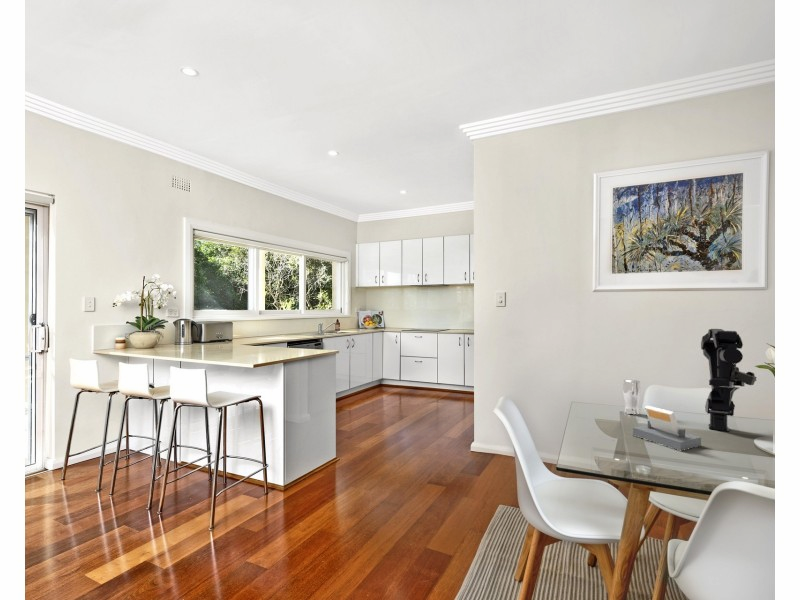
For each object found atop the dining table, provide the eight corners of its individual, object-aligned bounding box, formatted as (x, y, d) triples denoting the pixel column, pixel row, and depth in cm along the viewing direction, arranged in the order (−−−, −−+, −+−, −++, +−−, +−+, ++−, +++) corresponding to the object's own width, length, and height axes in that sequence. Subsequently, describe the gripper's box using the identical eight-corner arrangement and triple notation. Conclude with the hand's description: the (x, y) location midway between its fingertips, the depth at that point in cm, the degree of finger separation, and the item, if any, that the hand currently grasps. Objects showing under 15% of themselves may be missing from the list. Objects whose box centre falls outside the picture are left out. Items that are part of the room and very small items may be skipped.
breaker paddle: (654, 424, 166) (647, 405, 164) (680, 432, 157) (673, 411, 155) (651, 427, 165) (644, 408, 163) (677, 435, 156) (670, 414, 154)
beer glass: (619, 412, 199) (619, 380, 199) (630, 410, 202) (630, 379, 202) (632, 416, 193) (632, 383, 193) (643, 414, 195) (643, 381, 195)
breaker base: (653, 431, 172) (653, 416, 172) (700, 446, 155) (701, 429, 155) (632, 435, 166) (633, 420, 166) (680, 451, 150) (680, 434, 150)
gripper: (745, 364, 151) (746, 409, 149) (760, 365, 162) (762, 407, 161) (708, 362, 160) (709, 405, 158) (725, 363, 171) (726, 403, 170)
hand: (727, 405), depth 161 cm, fingers closed
